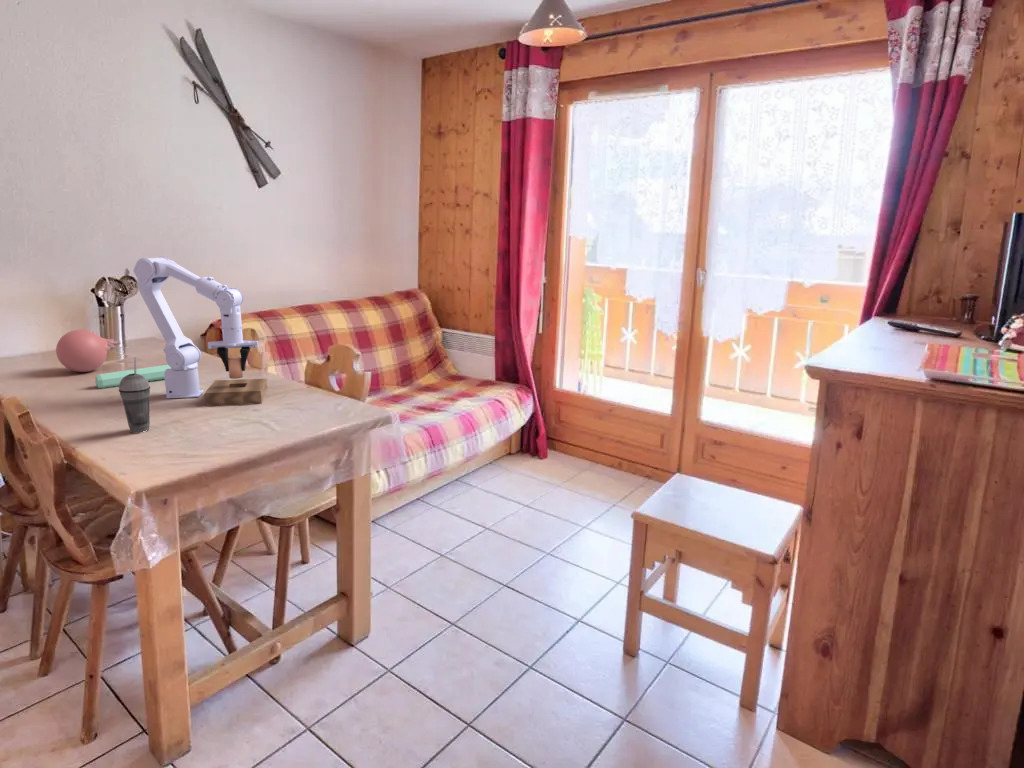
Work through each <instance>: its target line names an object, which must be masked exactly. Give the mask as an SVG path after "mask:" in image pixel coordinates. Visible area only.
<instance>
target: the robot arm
mask: <svg viewBox="0 0 1024 768" xmlns="http://www.w3.org/2000/svg"><path fill="white" fill-rule="evenodd" d="M133 273H134V275H135V277H136V278H137V287H138V292H139V293H140V295H141V298H142V299H143V301H144V303H145V305H146V306H147V309H148V310H149V313H150V314H151V316H152V318H153V320H154V321H155V324H156V326H157V328H158V330H159V331H160V333H161V335H162V337H163V339H164V341H165V345H164V346H163V347H164V348H163V352H164V354H165V360H166V365H169V366H170V367H171V369H166V370H165V379H164V385H165V392H166V396H165V398H166V399H182V398H183V399H184V398H187V399H188V398H199V397H200V396H201V395H202V394H203V392H204V391H205V390H204V389H201V388H200V378H199V369H198V367H199V362H200V361H201V359H202V352H201V350H200V349H199V347H197V345H195V344H194V342H193V340H192V339H190V338H188V337H187V336H185V335H184V333H183V331H182V329H181V327H180V325H179V324H178V322H177V320H176V318H175V316H174V314H173V312H172V310H171V308H170V306H169V304H168V302H167V300H166V299H165V297H164V295H163V292H162V291H161V290H162V286H163V285H164V283H165V282H166V281H167V280H168V278H169V277H171V278H173V279H176V280H179V281H181V282H183V283H184V284H187V285H190V286H192V287H194V288H195V291H196V293H198V294H199V295H201V296H203V297H205V298H207V299H209V300H210V301H213V302H214V303H215V305H217V307H218V308H219V313H220V321H221V332H222V334H221V335H222V340H220V341H219V340H218V341H208V342H207V350H212V349H216V353H217V354H218V356H219V358H220V359H221V361H222V363H223V365H224V367H225V372H229V368H228V358H229V349H239V354H240V358H241V362H242V371H243V372H245V371H246V366H247V365H246V364H247V359H248V356H249V353H250V350H251V349H252V348H253V349H259V347H260V345H259V344H260V343H259V340H244V337H243V335H244V334H243V325H242V324H243V323H242V312H241V305H242V304H243V302H244V295H243V293H242V291H241V290H240V289H238V288H237V287H230V288H229V287H228V285H227V284H222V283H220V282H218V281H216V280H215V277H213V276H202V277H200V276H199V275H197V274H195V273H194V272H192V271H190V270H188V269H187V268H185V267H183V266H181V265H179V264H178V263H176V261H175V260H172V259H169V258H168V257H165V256H158V257H143V258H141V257H140V258H139V259H138V260H137V261H136V263H135V265H134V268H133Z"/></svg>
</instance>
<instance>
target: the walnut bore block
mask: <svg viewBox="0 0 1024 768" xmlns="http://www.w3.org/2000/svg"><path fill="white" fill-rule="evenodd" d="M268 387H269V386H268V378H247V379H246V378H245V379H224V380H222V379H220V380H219V379H218V380H217V379H216V380H214V381H213V382H212V383H211V384H210V386H209V387H208V388H207V389H206V390H205V392H204V401H205V406H206V407H207V406H209V407H210V406H227V405H229V406H231V405H233V404H234V405H248V404H247V403H257V404H262V403H263V401H264V399H265V397H266V395H267V393H268V391H267V389H268ZM268 390H269V389H268ZM266 392H267V393H266ZM265 394H266V395H265ZM264 396H265V397H264ZM263 398H264V399H263ZM234 405H233V406H234Z"/></svg>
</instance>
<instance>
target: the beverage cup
mask: <svg viewBox="0 0 1024 768" xmlns="http://www.w3.org/2000/svg"><path fill="white" fill-rule="evenodd" d="M133 359H134V360H133V363H134V366H133V369H134V374H128V375H126V376H125V377H124V378H123V379H122V380H121V382H120V384H119V386H118V392H119V395H120V398H121V399H122V404H123V408H124V412H125V416H126V420H127V421H126V422H127V425H128V428H129V430H130V431H131V432H143V431H146V430H149V429H150V425H151V424H150V422H151V421H150V420H151V419H150V417H151V416H150V394H151V386H150V384H149V382H148V381H147V379H146V378H145V377H144V376H142V375H140V374H136V369H137V357H134V358H133ZM130 431H129V432H130ZM149 431H150V430H149ZM131 432H130V433H131ZM146 432H147V431H146ZM143 433H144V432H143Z"/></svg>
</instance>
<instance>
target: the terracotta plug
mask: <svg viewBox="0 0 1024 768" xmlns="http://www.w3.org/2000/svg"><path fill="white" fill-rule="evenodd" d="M228 368H229V371H228V376H229V379H230V380H239V379H242V378H243V377H244V371H242V362H241V356H239V357H238V356H231V357H228Z"/></svg>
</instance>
